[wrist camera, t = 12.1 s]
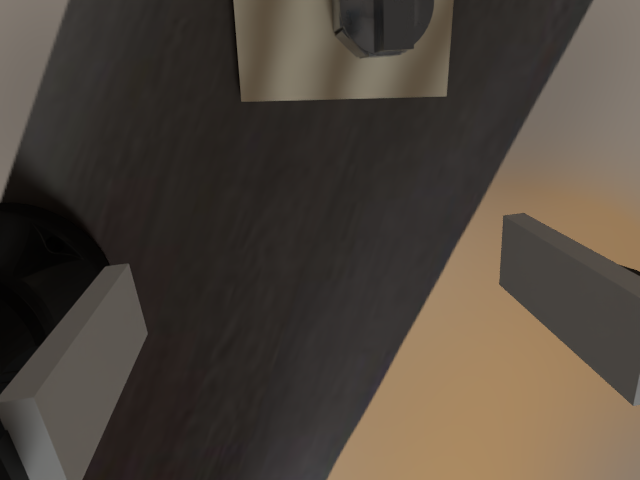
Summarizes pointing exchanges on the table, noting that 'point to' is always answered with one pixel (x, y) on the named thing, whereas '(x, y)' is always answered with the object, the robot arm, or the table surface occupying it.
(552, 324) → the robot arm
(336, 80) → the socket base
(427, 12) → the dark grey rounded piece
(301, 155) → the table surface
